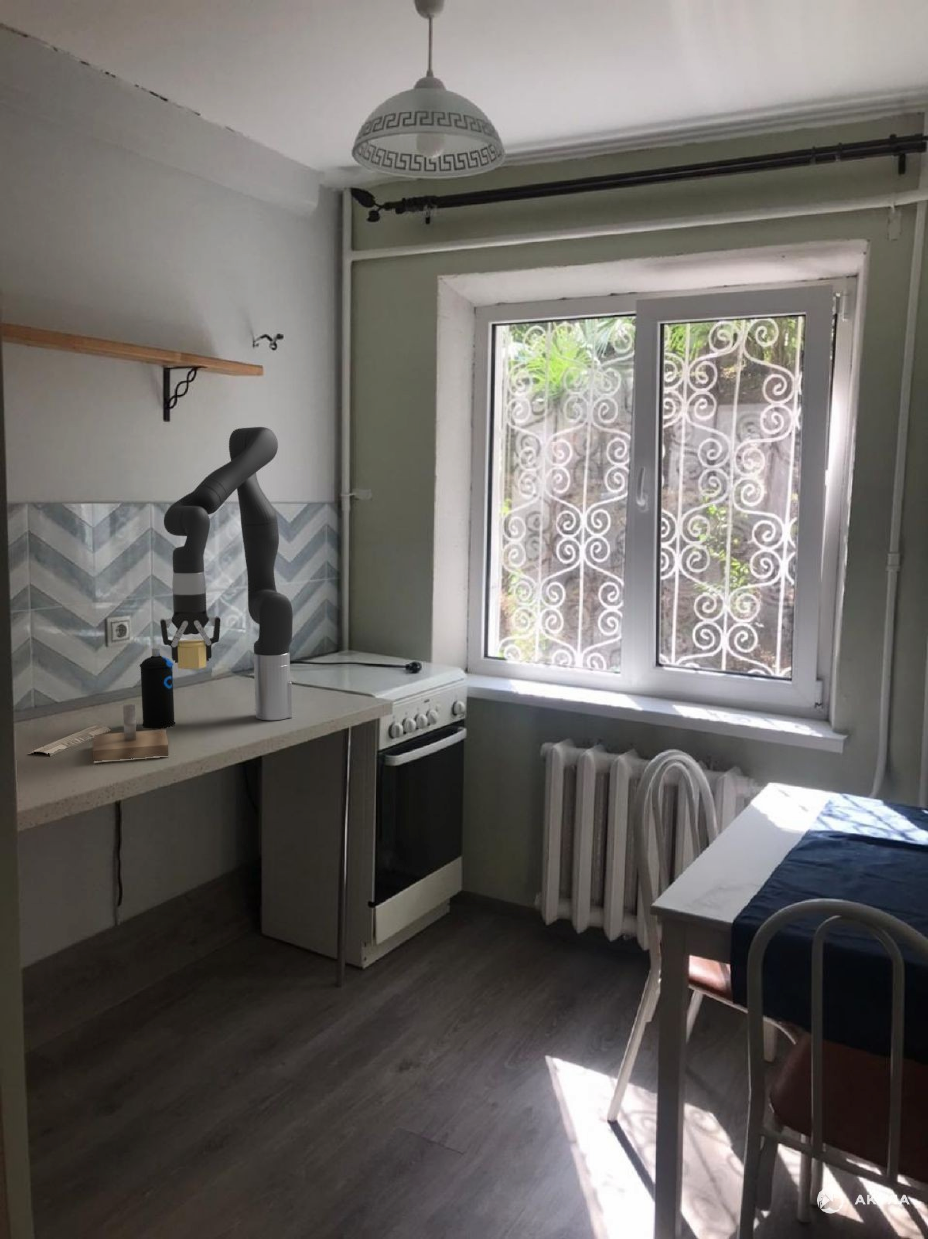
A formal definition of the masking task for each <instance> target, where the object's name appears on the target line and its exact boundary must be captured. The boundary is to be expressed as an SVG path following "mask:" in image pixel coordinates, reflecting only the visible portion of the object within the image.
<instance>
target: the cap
mask: <svg viewBox="0 0 928 1239" xmlns="http://www.w3.org/2000/svg"><path fill="white" fill-rule="evenodd" d="M177 647H178V663H177V668H178V669H182V670H200V669H203V668H206V667H207V661H206V643H205V641H204V639H200V638H199V639H196V638H195V639H180V640H179V642H178V644H177Z"/></svg>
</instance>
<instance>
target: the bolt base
mask: <svg viewBox="0 0 928 1239" xmlns="http://www.w3.org/2000/svg"><path fill="white" fill-rule="evenodd" d="M122 713H123V714H122V715H123V732H114V733H104V734H100V735H94V738H93V744H92V745H93V746H92V761H102V760H120V759H131V758H132V759H133V758H145V757H153V756H168V755H169V743H168V742H169V741H168V737H167V732H166V731H167V730H166V729H152V730H144V731H143V730H142V731H137V723H136V722H137V721H136V719H137V718H136V705H135V704H124V705H123V706H122Z"/></svg>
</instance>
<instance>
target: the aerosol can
mask: <svg viewBox="0 0 928 1239" xmlns="http://www.w3.org/2000/svg"><path fill="white" fill-rule="evenodd" d="M160 650H161V647H152V648H151V656H150V657H147V658H144V660H143V661H142V662H141V663H140V664H139V668H140V683H141V684H140V685H141V686H140V687H141V709H142V712H141V713H142V724H141V727H142V726H143V727H142V728H143V729H147V730H162V729H161V728H163V729H168V728H171V727H170V726H172V727H174V726H175V725H176V724H177V723H176V721H175V702H174V701H175V699H174V675H173V674H174V672H173V666H174V662H172V661H171V660H170V659H169V658H168V657H165V656H163V655H161V653H160ZM167 727H168V728H167Z"/></svg>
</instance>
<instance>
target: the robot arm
mask: <svg viewBox="0 0 928 1239" xmlns="http://www.w3.org/2000/svg"><path fill="white" fill-rule="evenodd" d="M228 439H229V440H228V451H229V458H230V461H229V462H227V463H225V464H224V465H222V466H220V467H219V468H217V469H216V470H213V471H212V472H210V473H209V474H208V475H207V476H206V477H205V478H204V479H203V480H202V481H200V483H199V484H198V485H197V487H196V488H194V490H193V491H192V492H189V493H188V494H186V495H184V496H183V497H181V498H179V499H178V500H176V501H175V502H174V503H173V504H171V505H170V506H169V507H168V509H167V510H166V512H165V514H164V517H163V526H164V529H165V530H166V531H167V533H168V534H170V535H172V536H176V537H177V536H179V537H186V539H185V542H184V545H182V546H178V547H176V548H174V549H173V551H172V589H171V590H172V606H173V608H172V609H173V611H172V612H173V614H172V617H171V618H161V619H160V620H159V623H160V630H161V632H160V633H161V637H162V642H163V645H164V646H168V647H170V648H171V660H172V661H174V663H175V664H176V663H177V664H178V647H177V644H178V642H179V641H180V640H181V638H182V636H183V635H185V636H188V635H200V636H201V637H202V640H204V641H205V645H206V662H209V661H210V659H212V655H213V653H212V645H213V644H215V643H219V641H220V632H221V631H220V630H221V618H220V617H219V616H218V615H217V616H209V615H208V613H207V585H206V584H207V583H206V576H205V563H204V561H205V559H204V558H205V556H204V554H205V551H206V547H207V546H206V545H207V542H208V539H209V533H210V528H211V521H210V516H209V515H212V514H214V513H215V512H217V511H218V510H219V508H220V507H221V506H222V505H223V504H224V503H225V502H226V501H227V500H228V499H229V497H230V496H231V495H232V494H233V493H234V492H235V491H236V492H237V499H238V506H239V513H240V526H241V535H242V542H243V549H244V558H245V565H246V572H247V574H246V575H247V606H248V607H247V609H248V613H249V616H250V618H251V620H252V621H254V622H255V623H256V624H258V627H259V628H258V639H257V640H256V641H255V642H254V643H253V667H254V668H253V670H254V671H253V673H254V674H253V675H254V678H253V679H254V707H255V708H254V711H255V712H254V714H255V718H256V719H258V720H263V721H279V720H284V719H290V718H293V685H292V684H293V683H292V681H291V666H290V665H291V658H290V657H291V656H290V654H291V653H290V651H291V650H290V648H291V647H290V646H291V644H292V640H293V622H294V621H293V619H294V618H293V615H294V614H293V607H292V604H291V601H290V599H289V598H288V597H287V596H286V595H284V594H282V593H280V592H278V591H277V587H276V586H277V585H276V580H275V563H276V558H277V555H278V551H279V550H278V549H279V546H280V544H279V542H280V533H279V524H278V516H277V513H276V510H275V508H274V507H273V505H272V503H271V502H270V500H269V498H267V496H266V495H265V493H264V491H263V489H262V488H261V486H260V483H259V481H258V477H257V472H259V470H261V469H263V468H264V467H265V466H267V465H268V464H269V463H270V462H271V461H273V460H274V458H275V457H276V455H277V453H278V448H279V443H278V438H277V435H276V434H275V433H274V431H273V430H272V429H271V428H269V427H266V426H264V427H263V426H253V427H252V426H251V427H240V428H236V429H234V430H233V431H232V432H231V433H230V436H229V438H228ZM209 622H210V625H211V626H212V627H213V631H212V632H213V633H212V634H213V635H212V637H210V638H209V636H208V634H207V632H206V631H205V627H206V625H207V624H208V623H209ZM171 624H173V625H174V626H175V628H176V630H175V631H176V632H175V633H174V636H173V637H172V639H169V637H168V629H169V628H170V627H171Z"/></svg>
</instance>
